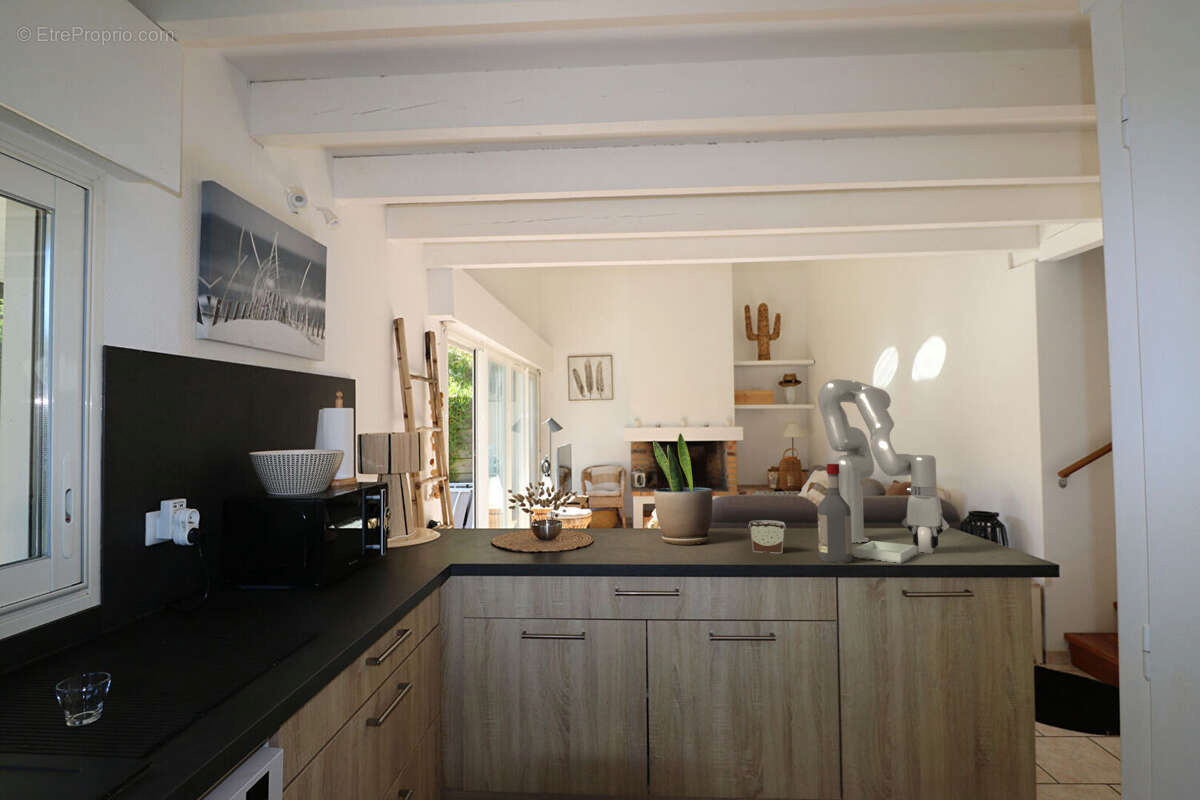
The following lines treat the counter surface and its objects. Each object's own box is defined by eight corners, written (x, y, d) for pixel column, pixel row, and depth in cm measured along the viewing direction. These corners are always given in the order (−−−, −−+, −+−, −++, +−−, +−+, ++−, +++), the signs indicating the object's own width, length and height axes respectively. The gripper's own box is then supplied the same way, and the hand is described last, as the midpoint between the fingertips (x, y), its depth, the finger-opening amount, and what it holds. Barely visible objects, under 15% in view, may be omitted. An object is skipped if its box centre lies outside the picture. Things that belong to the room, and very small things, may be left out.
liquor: (848, 558, 199) (845, 463, 200) (853, 563, 190) (850, 464, 192) (818, 556, 201) (816, 463, 203) (821, 562, 192) (819, 464, 194)
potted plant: (645, 538, 237) (644, 433, 239) (696, 535, 243) (695, 433, 246) (668, 548, 217) (667, 432, 219) (723, 544, 223) (722, 432, 226)
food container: (787, 550, 212) (787, 520, 213) (786, 553, 206) (786, 523, 207) (750, 548, 216) (749, 519, 217) (748, 551, 210) (748, 521, 211)
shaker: (916, 552, 208) (915, 520, 209) (920, 550, 212) (919, 518, 212) (931, 553, 205) (930, 521, 206) (935, 551, 209) (934, 519, 209)
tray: (853, 557, 200) (853, 548, 200) (872, 549, 213) (872, 540, 213) (900, 563, 190) (900, 553, 190) (916, 554, 204) (916, 545, 204)
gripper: (893, 491, 212) (895, 545, 211) (949, 494, 201) (951, 551, 200) (900, 489, 218) (901, 542, 217) (955, 492, 207) (956, 548, 206)
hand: (925, 546), depth 209 cm, fingers closed on shaker, 4 cm apart
